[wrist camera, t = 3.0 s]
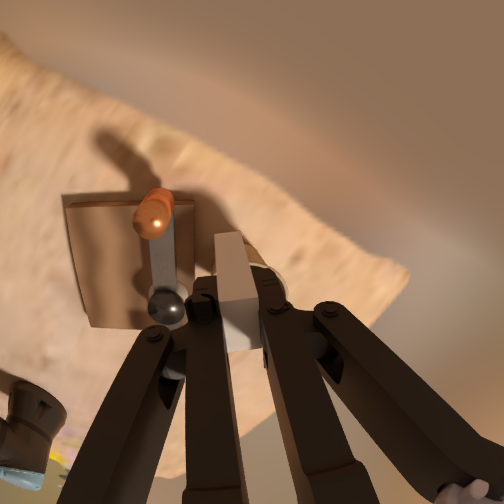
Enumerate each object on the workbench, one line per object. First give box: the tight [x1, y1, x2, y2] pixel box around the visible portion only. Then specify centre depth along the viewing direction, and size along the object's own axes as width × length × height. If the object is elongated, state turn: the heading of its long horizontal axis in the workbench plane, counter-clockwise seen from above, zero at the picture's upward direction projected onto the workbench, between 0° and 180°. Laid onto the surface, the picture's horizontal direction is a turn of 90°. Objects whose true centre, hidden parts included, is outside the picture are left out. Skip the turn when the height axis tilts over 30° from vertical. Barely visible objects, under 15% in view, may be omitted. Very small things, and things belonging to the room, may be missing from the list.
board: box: [66, 200, 195, 330], centre depth 36 cm, size 16×18×2 cm
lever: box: [132, 188, 185, 331], centre depth 32 cm, size 23×5×8 cm, turn 176°
